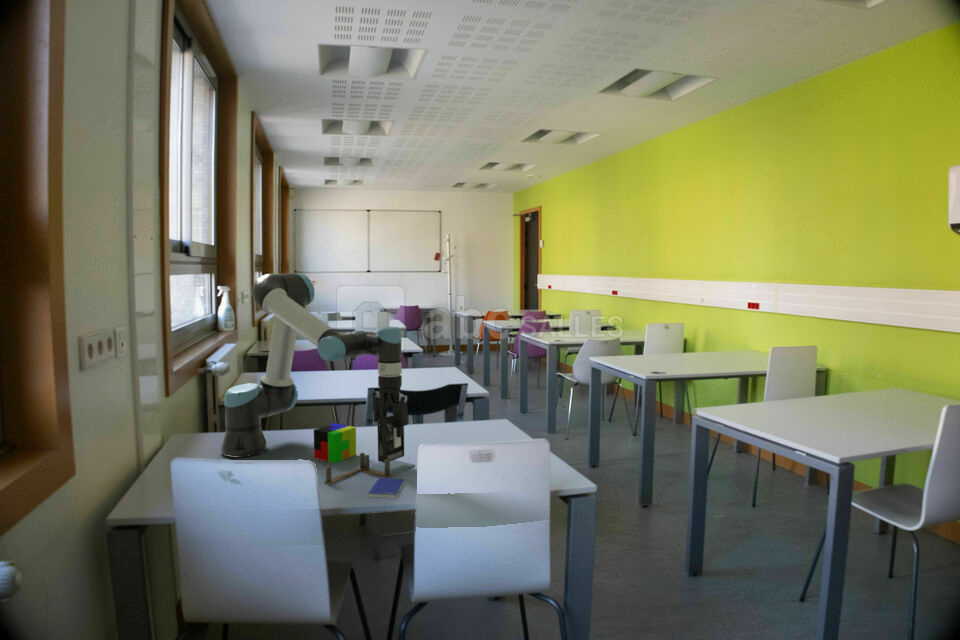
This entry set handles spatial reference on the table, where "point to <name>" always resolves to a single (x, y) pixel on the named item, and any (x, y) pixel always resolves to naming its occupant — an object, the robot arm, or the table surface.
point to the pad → (393, 467)
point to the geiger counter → (388, 440)
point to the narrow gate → (374, 472)
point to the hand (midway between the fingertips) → (390, 445)
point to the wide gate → (343, 476)
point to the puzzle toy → (334, 442)
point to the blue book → (386, 487)
